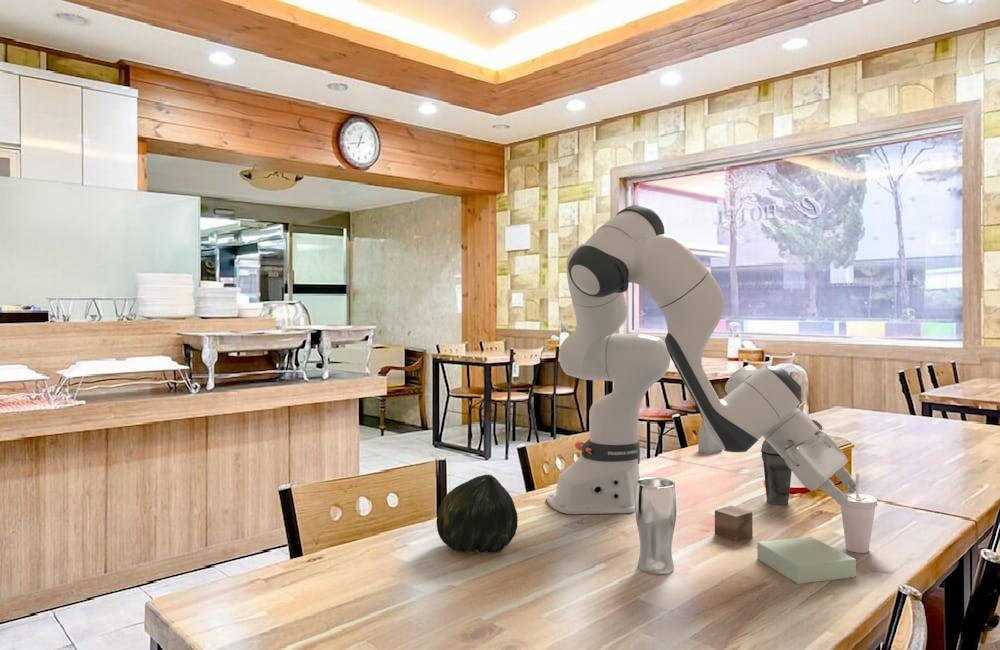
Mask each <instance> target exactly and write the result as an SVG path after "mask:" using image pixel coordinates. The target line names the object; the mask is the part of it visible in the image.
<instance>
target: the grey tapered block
mask: <svg viewBox="0 0 1000 650" xmlns="http://www.w3.org/2000/svg"><path fill="white" fill-rule="evenodd" d="M697 434H698V435H697V437H698V439H697V440H698V442H697V443H698V451H700V452H699V453H703V452H704V454H708V453H709V454H713V452H714V453H717V452H722V451H723V449H722V448H721V447H719V446H718V445H717V444H716V443H715V442H714V441H713V439H712V438H711V436H710V435H709V433H708V431H707V428H706V426H705V423H704V421H703V420H702V422H701V426H700V428H699V430H698V433H697ZM698 451H697V452H698Z"/></svg>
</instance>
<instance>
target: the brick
mask: <svg viewBox="0 0 1000 650" xmlns="http://www.w3.org/2000/svg"><path fill="white" fill-rule="evenodd" d="M753 515H754V513H753V511H750V510H748V509H743V508H740V507H737V506H734V505H729V506H725V507H724V506H723V507H722V508H718V509H715V510H714V535H715V536H718V537H720V538H723V539H726V540H729V541H732V542H734V543H738V542H741V541H744V540H748V539H750V538H753V536H754V535H753V534H754V533H753V530H754V529H753V528H754V527H753V519H754V518H753Z"/></svg>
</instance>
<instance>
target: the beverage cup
mask: <svg viewBox="0 0 1000 650" xmlns="http://www.w3.org/2000/svg"><path fill="white" fill-rule="evenodd" d="M760 453H761V458H762V461H763V463H762V464H763V474H764V484H765V494H766V502H767V503H768V504H770V505H775V506H776V505H777V506H785V505H788V504H789V497H790V492H791V491H790V490H791V480H792V473H793V472H792V471H791V469H790V468H789V467H788V465H787V464H786V462H785V460H784V458H782V457H781V456H780V455H779V454H778V453H777V451H776V450H775V449H774V448H773V447H772V446H771V445H770V444H769V443H768V442H767V441H766V440H765V439H764V440H763V442H762V444H761V449H760Z"/></svg>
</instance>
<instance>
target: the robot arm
mask: <svg viewBox="0 0 1000 650" xmlns="http://www.w3.org/2000/svg"><path fill="white" fill-rule="evenodd" d="M566 277H567V284H568V290H569V294H570V298H571V302H572V304H573V309H574V314H575V320H576V327H575V328H574V331H573V332H572V333H571V334H570V335H568V336H567V337H566V338H565V339H564V340H563V341H562V343H561V345H560V347H559V349H558V350H559V351H558V361H559V365H560V368H561V369H562V371H563V372H564V373H565V375H566V376H570V377H573V378H577V379H582V380H585V381H587V380H588V381H603V382H604V381H605V382H608V381H609V382H613V389H612V391H611V393H608V394H606V395H603V396H601V397H600V398H598V399H596V400H595V401H594V402H593V403H592V404H591V406H590V408H589V412H588V413H589V416H588V419H589V421H588V422H589V423H588V424H589V425H588V426H589V427H588V428H589V431H588V433H589V437H588V440H586V441H585V442H583V441H582V440H576V441H575V443H574V447H575V449H577V450H579V451H581V455H580V457H579V458H578V459H577V460H575V461H574V462H573V463H572V464H570V465H569V466H568V467H566V468H564V469H563V470H562V471H561V472H560V474H559V475H558V479H557V483H556V484H557V485H556V488H555V489H556V490H555V492H550V493H548V494H547V496H546V502H547V504H548V505H549V506H550V507H551V508H552V509H554V510H555V511H557V512H560V513H563V514H567V515H586V514H587V515H590V514H600V515H601V514H633V513H634V512H635V496H636V481H637V480H639V479H641V478H640V468H639V467H640V466H639V464H640V462H641V458H640V457H641V449H640V448H641V447H640V446H641V445H640V441H639V439H638V438H639V437H638V435H639V434H638V433H639V413H640V408H641V403H642V401H643V398H644V397H645V395H646V393H647V392H648V390H650V388H651V387H652V386H653V385H654V384H656V383H657V382H658V381H660V380H661V379H662V378H663V377H664V376H665V375H666V374H667V372H668V371H669V368H670V364H671V361H672V362H673V364H674V367H675V369H676V371H677V372H678V375H679V376H680V378H681V380H682V382H683V384H684V385H685V388H686V390H687V391H688V393H689V395H690V396H691V398H692V400H693V402H694V404H695V406H696V408H697V409H698V412H699V414H700V416H701V418H702V421H704V423H705V426H706V428H707V431H708V433H709V435H710V436H711V438H712V439H713V441H714V442H715V443H716V444H717V445H718V446H719V447H721V448H722V451H725V452H726V453H727V452H728V453H746V452H748V450H750V449H751V448H752V447H753V446H754V445H755V444H756V443H757V442H758V441H759V439H760V438H762V437H763V438H764V440H766V441H767V442H768V443H769V444H770V445H771V446H772V447H773V448H774V449H775V450H776V451H777V453H778V454H779V455H780V456H781V457H782V458H784V460H785V462H786V464H787V465H788V467H789V468H790V469H791V471H792V472H791V473H793V474H794V475H795V477H796V478H797V479H798V481H800V483H801V484H802V485H803V486H804V487H805V488H806V489H808V490H809V491H811V492H813V491H816V490H817V489H818V488H819V489H820V490H821V491H822V492H823V493H824V494H826V495H827V496H828V497H830V498H831V499H833V500H834V501H835V502H836V503H837V504H838V505H840V506H841V505H842V504H844V503H845V502H846V501H847V500H848V499H849V498H848V496H847V495H846V494H845V493H846V492H844V491H843V490H841V489H839V488H838V487H837V486H836V485H835V483H834V482H833V480H831V478H832V477H833V476H835V477H836V478H837V479H839V480H840V481H841V482H842V484H843V485H844V488H845V489H846V490H847V492H848V493H856V480H854V478H853V477H852V475H851V474H850V471H849V470H848V469H847V468H846V467H845V465H846V464H847V463H848V462H849V461H848V458H847V455H846V454H845V453H844V451H842V449H841V448H840V447H839V446H838V445H837V443H836V442H834V440H833V439H832V438H831V437H830V436H829V435H828V434H827V432H825V431H823V430H824V426H823V425H822V424H821V423H820V422H819V421H818V420H816V419H812V418H810V417H808V416H807V415H806V414H805V413H804V412H803V410H801V409H800V408H799V404H801V401H802V393H803V392H802V386H801V385H800V384H799V383H798V382H797V381H796V380H795V379H794V378H793V377H792V376H791V375H790V374H789V373H788V372H787V371H786V370H785V369H784V368H783V367H780V366H773V365H767V366H766V365H765V366H764V367H762V368H758V367H755V366H754V365H752V364H751V365H749V364H748V365H746V366H743V367H741V368H739V369H737V370H736V371H735V372H733V373H732V374H731V376H730V377H729V378H728V380H727V381H726V383H725V386H724V390H725V393H726V394H727V395H725V396H724V397H723V398H719V396H718V394H717V393H716V390H715V389H714V387H713V385H712V383H711V381H710V380H709V377H708V375H707V374H706V372H705V370H704V367H703V364H702V363H703V362H702V358H703V354H704V351H705V347H706V345H707V343H708V342H709V340H710V338H711V336H712V335H713V333H714V331H715V330H716V328H718V327H717V326H718V325H719V323H720V321H721V318H722V316H723V312H724V307H725V306H724V305H725V297H724V295H725V294H724V292H723V291H722V288H721V287H720V285H719V283H718V282H717V280H716V279H715V277H714V276H713V275H712V273H711V272H710V271H709V270H708V268H707V267H706V266H705V264H703V262H702V261H701V260H700V259H699V258H698V257H697V255H695V253H693V252H692V250H690V249H689V247H687V246H686V245H685V244H684V243H683V242H682V241H680V239H678V238H677V237H676V236H675V235H672V234H669V233H668V234H667V233H665V227H664V222H663V221H662V219H661V218H660V216H659V215H658V214H657V213H656V212H655V211H654V210H653V209H652V208H650V207H648V206H646V205H644V204H632V205H629V206H627V207H625V208H623V209H621V210H620V211H619V212H617V213H616V214H615V215H614V216H613V217H611V218H609V220H607V221H605V222H604V223H603V224H602V225H600V227H598V228H597V230H596V231H595V232H594V233H593V234H592V235H591V236H590V237H589V238H588V239H587V240H586V241H585V242H584V243H581V244H578V245H577V246H576V247H574V248H573V249H572V250H571V251H570V252H569V253H568V256H567V259H566ZM629 283H631V284H636V285H638V286H641V287H642V288H643V289H644V290H645V292H647V293H648V295H649V296H650V297H651V299H652V300H653V302H654V303H655V304H656V306H657V307H658V308H659V309H660V311H661V313H662V315H663V317H664V319H665V322H666V326H667V333H666V336H665V339H664V340H663V339H662V338H661V337H658V336H653V335H649V334H644V333H616V332H617V331H619V329H620V328H621V327H622V326H624V324H625V322H626V320H627V317H628V306H627V301H626V297H625V292H627V291H628V288H629Z"/></svg>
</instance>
